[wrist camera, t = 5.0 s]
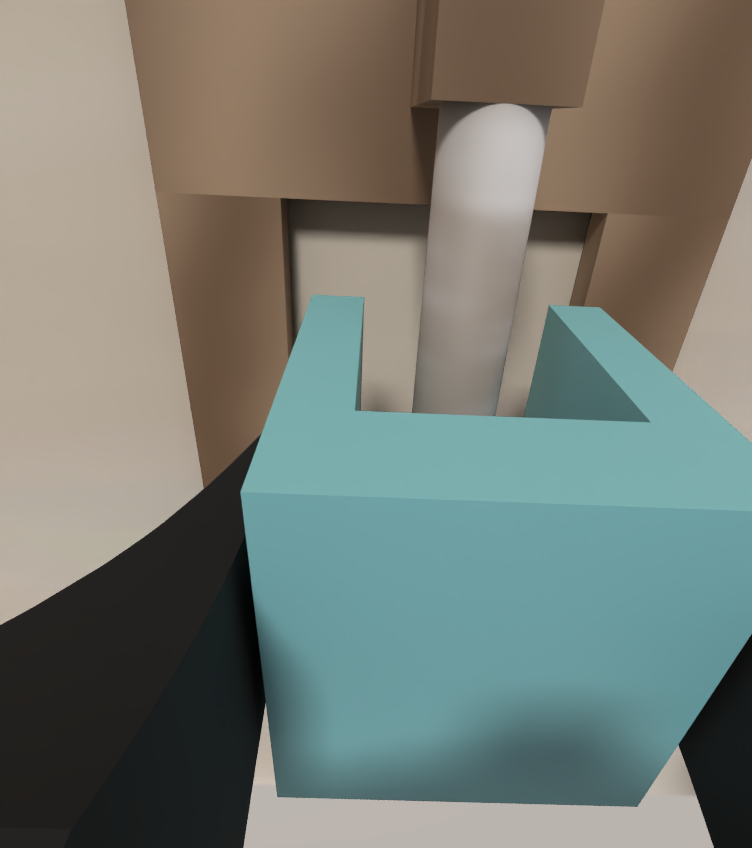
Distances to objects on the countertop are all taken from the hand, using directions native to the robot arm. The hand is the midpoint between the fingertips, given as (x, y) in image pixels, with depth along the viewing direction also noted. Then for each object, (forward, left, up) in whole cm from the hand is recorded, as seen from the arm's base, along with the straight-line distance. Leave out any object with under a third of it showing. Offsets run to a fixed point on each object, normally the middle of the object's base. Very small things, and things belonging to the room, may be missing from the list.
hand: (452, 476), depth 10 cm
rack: (0, 0, -7) cm, 7 cm away
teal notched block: (0, 0, -2) cm, 2 cm away
